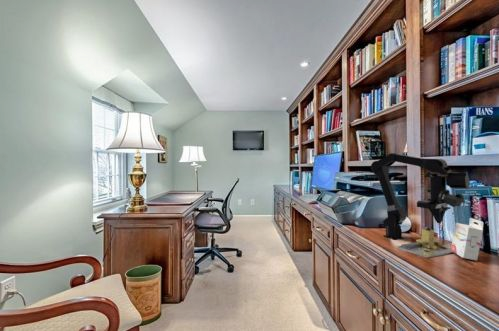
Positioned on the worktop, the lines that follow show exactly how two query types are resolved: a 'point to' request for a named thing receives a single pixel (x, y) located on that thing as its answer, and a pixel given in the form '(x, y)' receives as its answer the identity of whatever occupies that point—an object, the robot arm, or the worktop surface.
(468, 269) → the worktop surface
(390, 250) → the worktop surface
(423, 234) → the slider
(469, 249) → the ink cartridge box
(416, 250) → the flange plate
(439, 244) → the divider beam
